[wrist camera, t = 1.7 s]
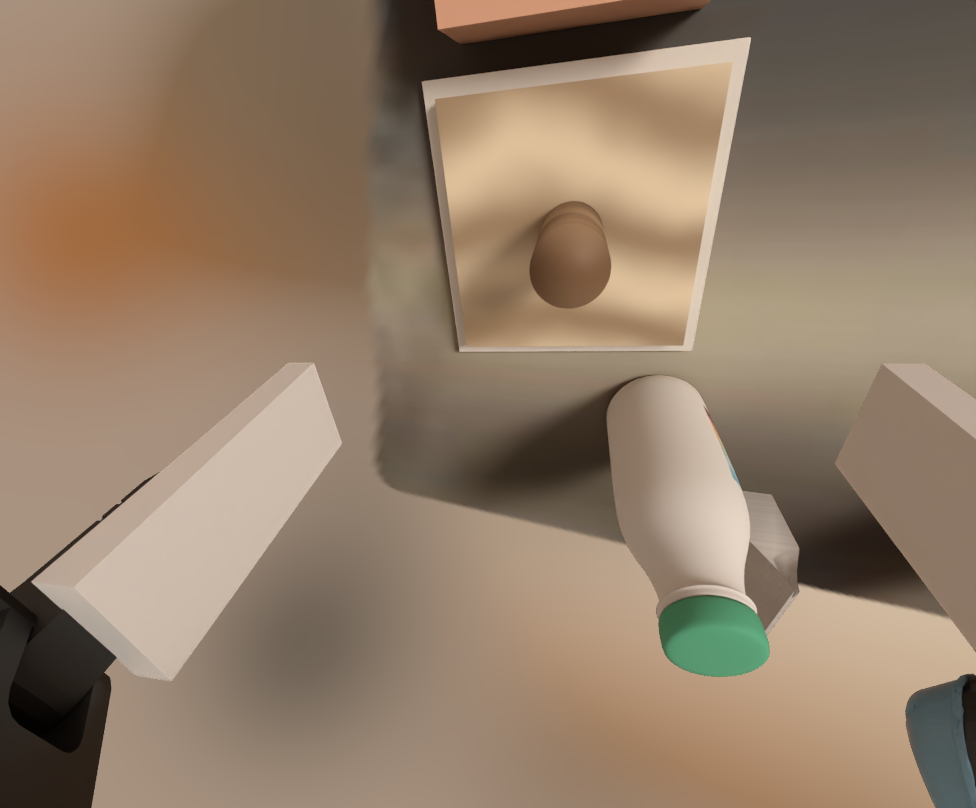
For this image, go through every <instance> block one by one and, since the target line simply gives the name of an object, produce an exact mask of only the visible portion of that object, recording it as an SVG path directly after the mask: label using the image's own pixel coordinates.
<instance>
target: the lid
mask: <svg viewBox="0 0 976 808" xmlns="http://www.w3.org/2000/svg"><path fill="white" fill-rule="evenodd" d="M732 64H733V62H726V63H718V64H710V65H702V66H694V67H686V68H678V69H670V70H662V71H654V72H646V73H638V74H630V75H622V76H614V77H606V78H598V79H590V80H582V81H574V82H566V83H559V84H551V85H543V86H535V87H527V88H519V89H511V90H503V91H495V92H487V93H479V94H471V95H463V96H455V97H447V98H439V99H435V105H436V113H437V121H438V128H439V136H440V144H441V152H442V159H443V167H444V175H445V182H446V190H447V198H448V206H449V213H450V221H451V229H452V237H453V244H454V252H455V260H456V268H457V275H458V283H459V291H460V299H461V306H462V314H463V322H464V330H465V337H466V345H467V347H538V346H683V344H684V338H685V333H686V327H687V321H688V315H689V310H690V304H691V298H692V293H693V287H694V281H695V275H696V270H697V264H698V258H699V252H700V247H701V241H702V235H703V230H704V224H705V218H706V212H707V207H708V201H709V195H710V190H711V184H712V178H713V172H714V167H715V161H716V155H717V150H718V144H719V138H720V132H721V127H722V121H723V115H724V110H725V104H726V98H727V92H728V87H729V81H730V75H731V70H732Z"/></svg>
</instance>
